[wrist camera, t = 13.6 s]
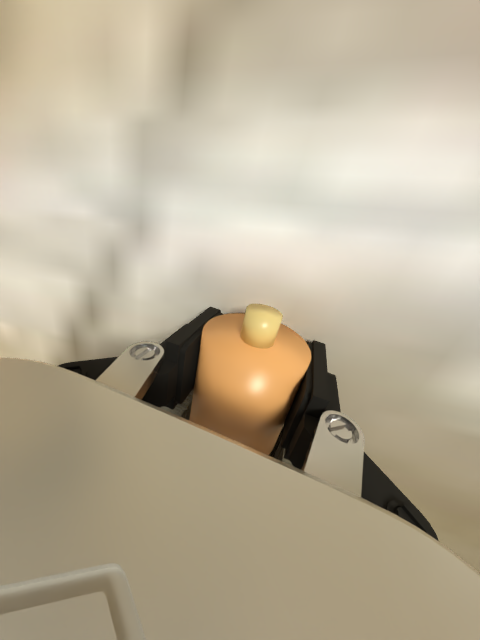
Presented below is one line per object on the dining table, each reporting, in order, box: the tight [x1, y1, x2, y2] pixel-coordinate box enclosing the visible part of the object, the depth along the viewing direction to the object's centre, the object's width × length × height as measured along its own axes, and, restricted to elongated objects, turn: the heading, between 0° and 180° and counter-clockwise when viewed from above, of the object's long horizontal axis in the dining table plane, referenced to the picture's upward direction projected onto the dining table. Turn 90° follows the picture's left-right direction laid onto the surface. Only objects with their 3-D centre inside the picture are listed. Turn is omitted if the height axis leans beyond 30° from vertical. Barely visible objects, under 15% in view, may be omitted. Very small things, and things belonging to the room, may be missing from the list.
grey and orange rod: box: [189, 304, 311, 455], centre depth 13 cm, size 19×4×4 cm, turn 168°
